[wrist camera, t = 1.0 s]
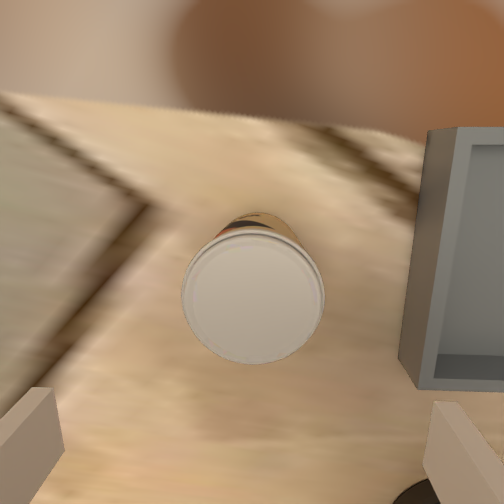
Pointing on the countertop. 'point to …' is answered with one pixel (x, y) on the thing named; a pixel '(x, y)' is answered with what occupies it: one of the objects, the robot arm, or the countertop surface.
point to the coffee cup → (253, 291)
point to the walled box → (457, 265)
